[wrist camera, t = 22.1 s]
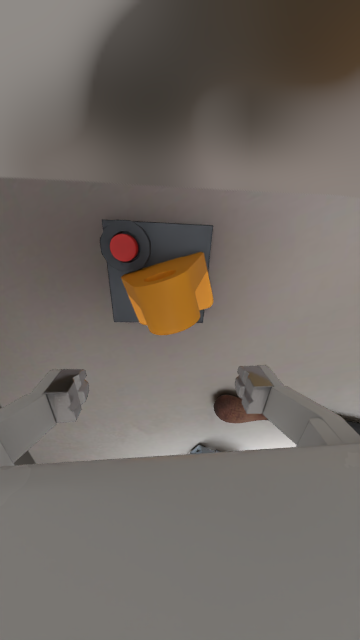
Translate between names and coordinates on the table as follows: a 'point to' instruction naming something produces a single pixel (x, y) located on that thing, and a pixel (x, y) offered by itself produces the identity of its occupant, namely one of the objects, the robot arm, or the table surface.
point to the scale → (149, 254)
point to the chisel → (234, 412)
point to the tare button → (123, 247)
